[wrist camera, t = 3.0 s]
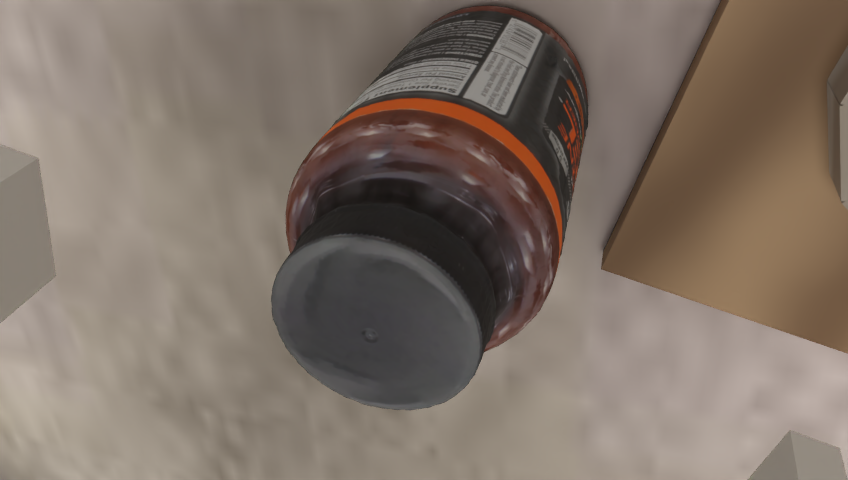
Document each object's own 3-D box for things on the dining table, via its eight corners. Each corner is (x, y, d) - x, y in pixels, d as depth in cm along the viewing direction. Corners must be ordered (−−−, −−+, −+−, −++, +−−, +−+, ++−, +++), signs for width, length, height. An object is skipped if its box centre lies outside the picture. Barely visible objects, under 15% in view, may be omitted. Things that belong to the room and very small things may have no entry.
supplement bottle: (588, 188, 22) (538, 477, 13) (409, 179, 24) (257, 430, 15) (596, -6, 19) (537, 203, 10) (389, -1, 21) (179, 182, 12)
